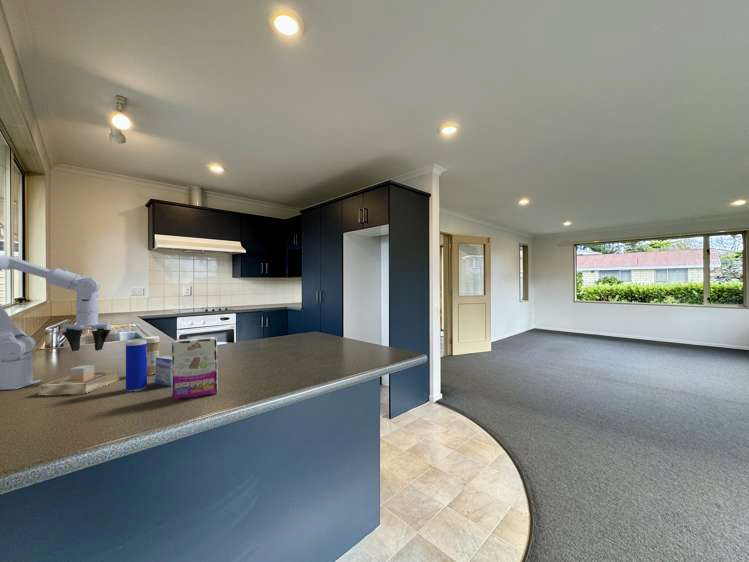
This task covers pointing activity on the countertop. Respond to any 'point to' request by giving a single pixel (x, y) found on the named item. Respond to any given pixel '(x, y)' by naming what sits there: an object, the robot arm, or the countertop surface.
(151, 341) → the sprinkles bottle
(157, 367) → the medicine box
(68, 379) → the frame
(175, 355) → the candy bar box
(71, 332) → the robot arm
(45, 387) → the walled box
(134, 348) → the beverage can
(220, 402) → the countertop surface
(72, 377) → the tan-topped block
